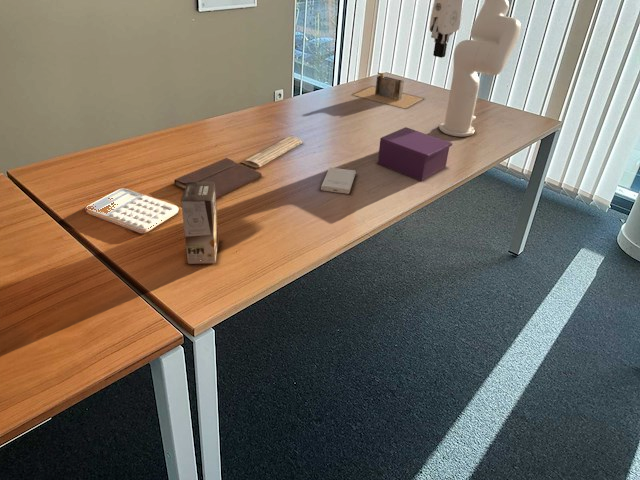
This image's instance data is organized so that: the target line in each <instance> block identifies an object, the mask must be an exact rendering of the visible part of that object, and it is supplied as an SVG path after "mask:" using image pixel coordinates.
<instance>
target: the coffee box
mask: <svg viewBox="0 0 640 480" xmlns="http://www.w3.org/2000/svg"><path fill="white" fill-rule="evenodd" d="M180 203H181V213H182V221H183V230H184V240H185V248H186V249H185V250H186V258H187V259H186V260H187V264H189V265H191V264H197V265H198V264H216V261H217V256H218V255H217V254H218V248H219V242H220V239H219V237H220V236H219V223H218V210H217V199H216V194H215V182H187V184H186V187H185V190H184V189H183V193H182V196H181V199H180ZM188 260H189V261H188ZM190 260H191V261H190ZM200 260H201V261H200Z"/></svg>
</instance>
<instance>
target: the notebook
mask: <svg viewBox="0 0 640 480" xmlns="http://www.w3.org/2000/svg"><path fill="white" fill-rule="evenodd" d="M262 175H263V174H262V172H260V171H258V170H256V169H253V168H250V167H248V166H245V165H243V164H242V163H238V162H237V161H234V160H233V159H230V158H228V157H225V158H222V159H219V160H218V161H216V162H215V161H214V162H213V163H211V164H209V165H205V166H203V167H200V168H199V169H196V170H194V171H191V172H189V173H187V174H184V175H182V176H180V177H177V178H175V179H174V185H175V186H176V187H179V188H180V189H183V191H184V190H185V187H186V184H187V182H215V194H216V200H217V199H220V198H222V197H224V196H226V195H228V194H230V193H232V192H234V191H236V190H238V189H241V188H242V187H244V186H247V185H248V184H251V183H253V182H255V181H257V180H259V179H261V178H262Z"/></svg>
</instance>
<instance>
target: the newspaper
mask: <svg viewBox="0 0 640 480" xmlns="http://www.w3.org/2000/svg"><path fill="white" fill-rule="evenodd" d="M301 144H303V141H302V140H301V139H300V138H298V137H295V136H287V137H286V138H283V139H281V140H280V141H278V142H276V143H274V144H272V145H271V146H269V147H267V148H265V149H263V150H261V151H259V152H258V153H256V154H254V155H252V156H250V157H248V158H246V159H244V160H243V161H241V163H240V164H245V165H247V166H250V167H252V168H255V169H259V168H261V167H263V166H264V165H266V164H268V163H270V162H271V161H273V160H275V159H276V158H278V157H280V156H282V155H284V154H285V153H287V152H289V151H290V150H292V149H294V148H296V147H298V146H299V145H301Z"/></svg>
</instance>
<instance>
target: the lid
mask: <svg viewBox="0 0 640 480" xmlns="http://www.w3.org/2000/svg"><path fill="white" fill-rule="evenodd" d="M379 140H381V141H384V142H386V143H389V144H392V145H394V146H397V147H400V148H403V149H405V150H408V151H411V152H413V153H416V154H419V155H421V156H424V157H427V158H429V157H431V156H433V155H435V154H437V153H438V152H440V151H442V150H444V149H446V148H448V147H449V148H451V147H452V146H453V142H450V141H448V140H444V139H442V138H439V137H436V136H432V135H430V134H427V133H424V132H421V131H419V130H415V129H412V128H409V127H406V126H405V127H403V128H400V129H397V130H395V131H393V132H391V133H388V134H387V135H384V136H382V137H380V139H379Z"/></svg>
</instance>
